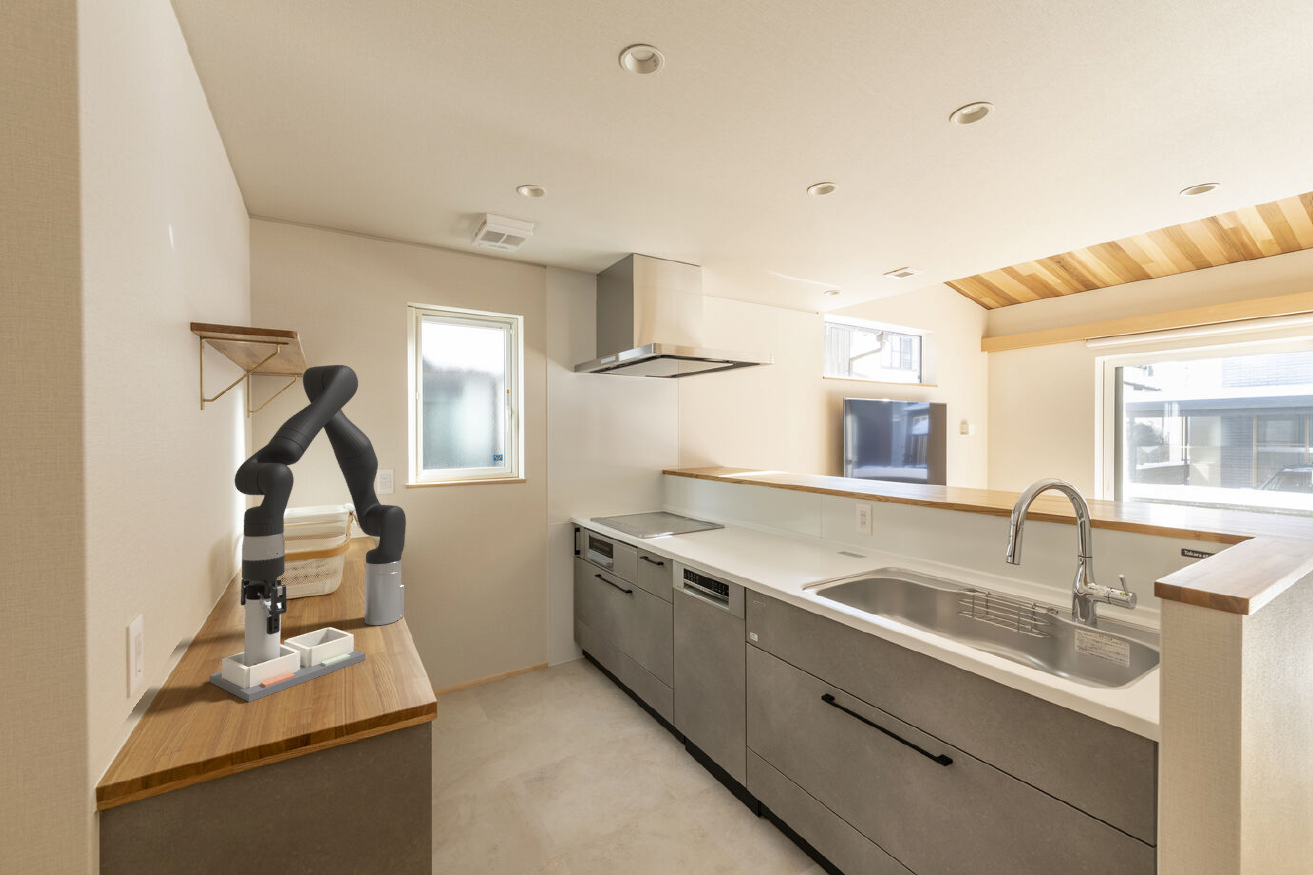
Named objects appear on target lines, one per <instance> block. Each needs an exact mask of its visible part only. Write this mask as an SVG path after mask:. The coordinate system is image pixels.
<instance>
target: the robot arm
mask: <svg viewBox="0 0 1313 875" xmlns="http://www.w3.org/2000/svg"><path fill="white" fill-rule="evenodd" d="M302 384H303V389H304V391H305V395H306V397H307V399H308V401H309V402H310V403H309V404H308V405H307V406H305V407H304V408H302V409H301V410H299V411H297V413H295V414H293V415H292V416H291V417H289V418H288V419H287V420H286V421H285V422H284V423H283V424H282V425H280V427H279V428H278V429H277V431H276V432H275V433H274V435H273V437H271V439H270V440H269V442H268V443H267V444H266V445H265V446H263V447H262V448H260V449H259V450H257V451H256V452H254V454H252V455H251V456H250V457H249V458H247V459H246V460H245V461H244V462H243V463H242V464H241V465H240V466H239V467H238V469H237V471H236V473H235V475H234V486H235V489H236V490H237V491H238V492H239V493H241V494H243V495H247V496H263V498H262V501H261V504H260V505H256V506H251V507H249V508H248V509H246V510H245V511H244V514H243V515H244V516H243V539H242V545H241V582H240V583H241V585H240V605H241V606H244V610H245V609H246V595H247V594H246V587H247V586H249V585H250V586H262V585H264V595H263V594H261V593H259V592H258V596H259V597H260V605H261V608H263V609H265V612H266V615H267V634H269V635H271V634H274V633H278V632H279V631H280V632H281V630H280V614H281V615H283V614H285V613H286V614H287V608H288V606H287V586H286V584H281V585H280V586H278V584H277V580H278V579H279V577H281V576H283V575H284V574H285V569H286V568H285V567H286V566H285V565H286V564H285V563H286V560H285V559H286V558H285V557H286V551H285V550H286V542H285V540H286V539H285V535H284V532H285V531H284V530H285V520H284V519H285V518H284V517H285V516H284V515H285V512H286V509H287V505H288V504H289V500H290V496H291V493H292V490H293V487H294V480H295V478H294V474H293V472H292V470H291V468H290V467H289V466H291V465H294V464H296V463H298V462H299V461H300V460H301V458H302V457H303V456H304V454H305V452H306V451H307V449H308V448H309V447H310V445H311V443H312V442H313V441H314V439H315V438H316V437H317V435H318V434H319V433H320V432H321V430H322V429H324V432H325V434H326V436H327V439H328V441H329V442H330V445H331V448H332V450H333V454H334V456H335V459H336V461H337V464H338V466H339V469H340V471H341V472H342V475H343V477H344V479H345V483H346V486H347V488H348V491H349V494H350V496H351V499H352V502H353V503H352V504H353V506H354V510H355V515H356V517H357V522H358V525H359V528H360V529H361V531H362V533H364V534H365V535H366V536H369V537H375V538H379V541H378V545H377V547H375V548H373V549H369V550H368V551H367V552H366V553H365V575H364V576H365V581H364V582H365V584H364V585H365V586H364V587H365V588H364V589H365V590H364V592H365V593H364V623H365V624H366V625H369V626H380V625H381V626H383V625H388V624H392V623H395V622H398V621H399V620H400V619H403V618H404V616H405V614H404V613H405V612H404V610H405V609H404V607H405V604H404V603H405V585H404V584H402V554H403V551H404V548H405V542H406V541H405V540H406V529H407V528H406V526H407V519H406V512H405V511H404V509H403V508H402V507H400V506H399V505H390V504H381V502H380V501H379V499H378V496H377V493H376V491H375V480H376V476H377V474H378V467H379V461H378V458H377V455H376V451H375V450H374V446H373V443H372V442H371V440H370V438H369V437H368V436H367V435H366V433H364V431H362V430H361V429H360V428H359V427H358V426H357V425H356V424H354V423H353V422H352V421H351V420H350V419H349V418H348V417H347V416H346V415H345V413H344V412H343V408H344V406H345V405H346V404H347V403H349V402H350V401H351V400H352V399H353V397H354V396H355V394H356V393H357V391H358V387H359V379H358V376H357V373H356V371H355V370H354V369H352V368H351V367H350V366H348V365H344V364H331V365H320V366H319V365H317V366H312V367H309V368H307V369H306V370H305V371H304V373H303V375H302ZM269 598H271V601H270V602H266V601H265V599H269ZM280 603H281V606H280ZM270 607H271V609H270ZM400 614H401V615H402V617H401V616H400ZM397 620H398V621H397Z"/></svg>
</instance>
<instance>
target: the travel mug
mask: <svg viewBox="0 0 1313 875" xmlns="http://www.w3.org/2000/svg"><path fill="white" fill-rule="evenodd" d="M277 584H278V586H280V585H282V580H281V579H277ZM258 592H259V593H261V594H263V595H264V585H262V586H250V585H249V586H247V587H246V594H247V595H246V609H245V608H244V610H245V611H244V612H245V614H244V616H245V617H244V648H243V649H244V651H243V652H244V666H247V667H251V666H254V665H257V664H260V663H264V662H267V661H270V660H273V659H276V658H279V657H280V644H281V630H282V629H281V626H282V624H281V623H282V622H281V619H282V614H280V631H279V632H278V633H274V634H271V635H269V634H267V615H266V612H265V609H263V608H261V605H260V597H259V596H258ZM265 601H266V602H270V601H271V598H269V599H265ZM280 606H281V603H280ZM270 609H271V607H270Z"/></svg>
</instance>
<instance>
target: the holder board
mask: <svg viewBox="0 0 1313 875" xmlns="http://www.w3.org/2000/svg"><path fill="white" fill-rule="evenodd" d="M354 645H355V635H354V633H350V632H347V631H344V630H340V629H337V628H335V627H331V626H330V627H325V628H322V629H318V630H315V631H311V632H307V633H304V634H301V635H297V636H294V637H289V638H287V639H286V640H283V644H282V643H280V657H279V658H276V659H273V660H270V661H267V662H264V663H260V664H257V665H254V666H251V667H247V666H244V651H242V652H239V653H235V654H232V655H228V656H225V657H223V658H221V671H218V672H216V673H215V672H214V673H213V674H210V675H209V682H210V684H213V685H216V686H217V687H219V688H221V689H223V690H225V691H227V692H228V693H230V694H232V695H235V696H236V697H238V698H240V699H242V700H244V701H246V702H248V703H251V702H254V701H256V700H258V699H262V698H264V697H265V698H266V697H267V696H269V695H273V694H275V693H279V692H280V691H283V690H286V689H289V688H292V687H295V686H297V685H300V684H303V683H306V682H309V681H311V680H314V679H316V678H320V677H322V676H324V675H327V674H330V673H333V672H336V671H338V670H341V669H345V668H347V667H349V666H352V665H355V664H357V663H360V662H363V661H365V660H366V653H365V652H362V651H359V650H356V649H354V647H355V646H354ZM319 676H320V677H319Z"/></svg>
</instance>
